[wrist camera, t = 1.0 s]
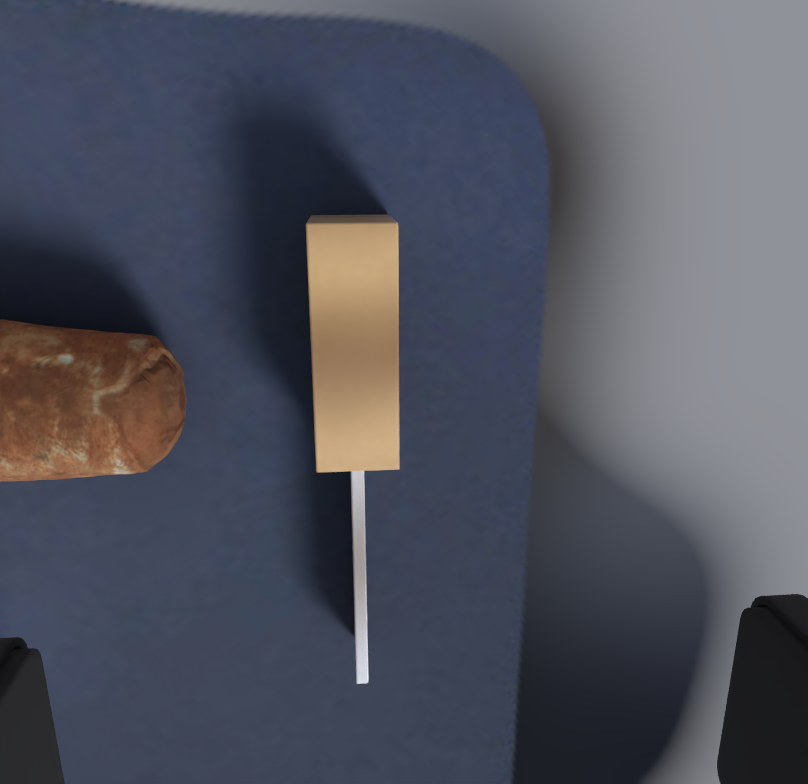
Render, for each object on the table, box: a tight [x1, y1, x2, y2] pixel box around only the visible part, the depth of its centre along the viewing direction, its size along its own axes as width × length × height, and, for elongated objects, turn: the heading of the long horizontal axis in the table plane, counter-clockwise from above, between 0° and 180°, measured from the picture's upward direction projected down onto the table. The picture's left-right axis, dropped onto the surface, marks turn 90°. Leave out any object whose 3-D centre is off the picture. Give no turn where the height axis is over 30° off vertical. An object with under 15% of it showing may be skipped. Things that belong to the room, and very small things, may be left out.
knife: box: [306, 215, 399, 684], centre depth 22 cm, size 15×2×3 cm, turn 0°
